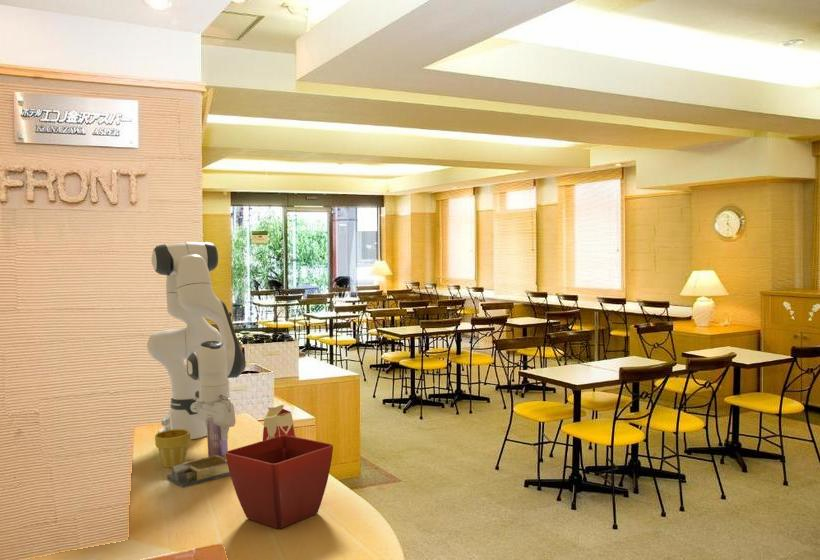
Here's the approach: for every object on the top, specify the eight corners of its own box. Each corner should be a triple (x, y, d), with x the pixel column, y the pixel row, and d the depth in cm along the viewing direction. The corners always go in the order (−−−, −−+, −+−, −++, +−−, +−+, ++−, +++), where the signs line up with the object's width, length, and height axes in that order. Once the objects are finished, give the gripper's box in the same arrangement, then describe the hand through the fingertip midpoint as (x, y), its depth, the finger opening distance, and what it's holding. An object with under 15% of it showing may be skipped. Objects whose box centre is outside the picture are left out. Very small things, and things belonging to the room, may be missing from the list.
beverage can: (231, 458, 218) (228, 411, 218) (224, 464, 212) (221, 416, 212) (212, 458, 219) (210, 411, 218) (205, 464, 213) (203, 416, 212)
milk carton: (302, 469, 204) (299, 402, 203) (277, 477, 198) (274, 408, 197) (284, 463, 211) (281, 398, 210) (259, 471, 204) (255, 404, 203)
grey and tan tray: (167, 478, 201) (166, 462, 201) (233, 461, 214) (232, 446, 214) (183, 487, 192) (182, 470, 192) (251, 469, 206) (250, 453, 205)
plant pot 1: (191, 466, 211) (189, 435, 211) (155, 471, 208) (153, 439, 208) (191, 457, 221) (190, 427, 221) (157, 461, 218) (155, 431, 218)
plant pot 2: (287, 496, 182) (284, 433, 181) (338, 511, 169) (335, 444, 169) (226, 520, 167) (223, 451, 166) (277, 538, 155) (274, 464, 154)
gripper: (239, 395, 209) (241, 440, 209) (210, 388, 224) (212, 430, 225) (219, 399, 205) (222, 445, 205) (192, 391, 220) (194, 434, 220)
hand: (217, 437), depth 215 cm, fingers open, 8 cm apart
